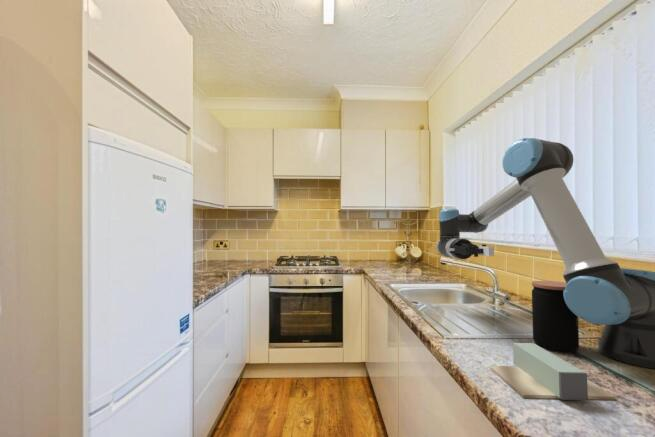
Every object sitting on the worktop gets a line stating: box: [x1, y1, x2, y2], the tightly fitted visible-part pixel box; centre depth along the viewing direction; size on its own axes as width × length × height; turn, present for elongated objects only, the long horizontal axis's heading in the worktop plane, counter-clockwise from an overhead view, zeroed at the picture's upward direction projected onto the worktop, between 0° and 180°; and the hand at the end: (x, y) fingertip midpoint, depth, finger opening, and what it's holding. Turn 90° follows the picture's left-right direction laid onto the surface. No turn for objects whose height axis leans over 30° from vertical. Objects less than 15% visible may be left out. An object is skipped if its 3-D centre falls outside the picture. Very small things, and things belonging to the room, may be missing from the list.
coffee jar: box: [531, 280, 580, 354], centre depth 88 cm, size 11×11×18 cm
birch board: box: [489, 365, 617, 401], centre depth 67 cm, size 18×13×1 cm
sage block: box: [512, 342, 589, 401], centre depth 67 cm, size 5×5×16 cm
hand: (491, 251), depth 90 cm, fingers closed
